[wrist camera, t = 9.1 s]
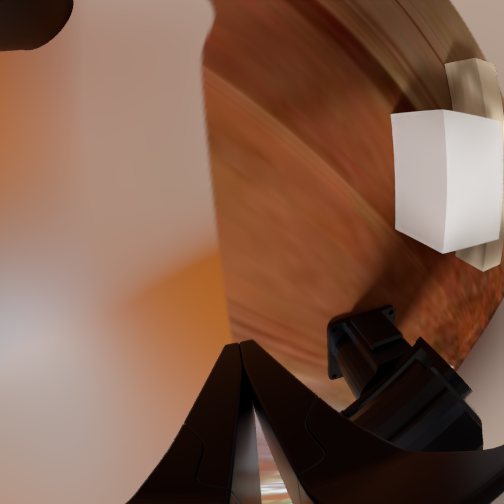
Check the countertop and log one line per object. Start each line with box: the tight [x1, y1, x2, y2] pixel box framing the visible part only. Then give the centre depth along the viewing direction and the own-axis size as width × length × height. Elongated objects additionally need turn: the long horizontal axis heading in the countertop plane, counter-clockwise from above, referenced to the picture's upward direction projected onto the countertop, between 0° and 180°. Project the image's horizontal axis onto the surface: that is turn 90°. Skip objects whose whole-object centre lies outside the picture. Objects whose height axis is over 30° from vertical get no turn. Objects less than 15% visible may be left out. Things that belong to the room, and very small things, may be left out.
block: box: [391, 109, 503, 254], centre depth 17 cm, size 9×7×6 cm
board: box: [444, 58, 504, 271], centre depth 18 cm, size 18×3×4 cm, turn 9°
